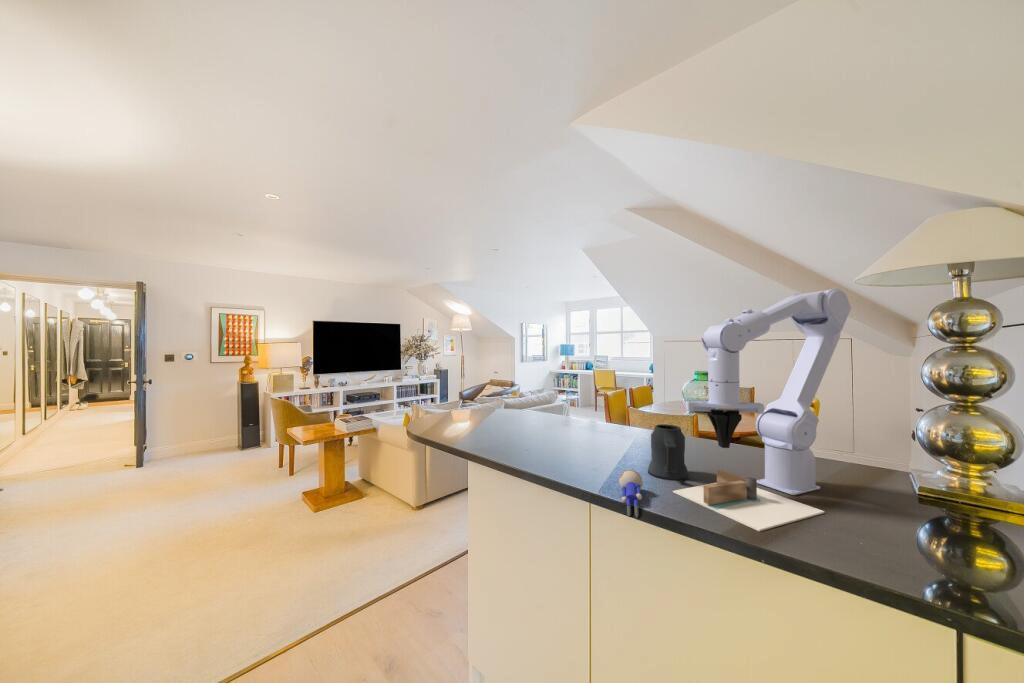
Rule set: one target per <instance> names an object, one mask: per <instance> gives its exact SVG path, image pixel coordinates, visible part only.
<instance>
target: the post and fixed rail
mask: <svg viewBox="0 0 1024 683" xmlns="http://www.w3.org/2000/svg"><path fill="white" fill-rule="evenodd" d="M740 480H741V481H744V482H746V499H748V500H757V488H758V486H757V485H758V483H757V480H758V479H756V478H754V477H747V476H742V475H738V474H735V473H732V472H730V471H727V470H723V469H722V468H721V469H717V470H716V482H717V483H725V482H732V481H740Z"/></svg>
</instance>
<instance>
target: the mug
mask: <svg viewBox="0 0 1024 683" xmlns="http://www.w3.org/2000/svg"><path fill="white" fill-rule="evenodd" d="M650 448H651V450H650V451H651V460H650V461H649V464H648V469H647V473H648V475H650V476H652V477H653V478H656V479H659V480H665V481H671V482H673V481H676V482H677V481H679V482H680V481H685V480H688V479H689V472H688V467H687V465H686V464H685V450H686V436H685V434H684V433H683V432H682V428H681V427H680V426H678V425H674V424H665V423H664V424H656V425H654V429H653V431H652V432H651V433H650Z"/></svg>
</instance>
